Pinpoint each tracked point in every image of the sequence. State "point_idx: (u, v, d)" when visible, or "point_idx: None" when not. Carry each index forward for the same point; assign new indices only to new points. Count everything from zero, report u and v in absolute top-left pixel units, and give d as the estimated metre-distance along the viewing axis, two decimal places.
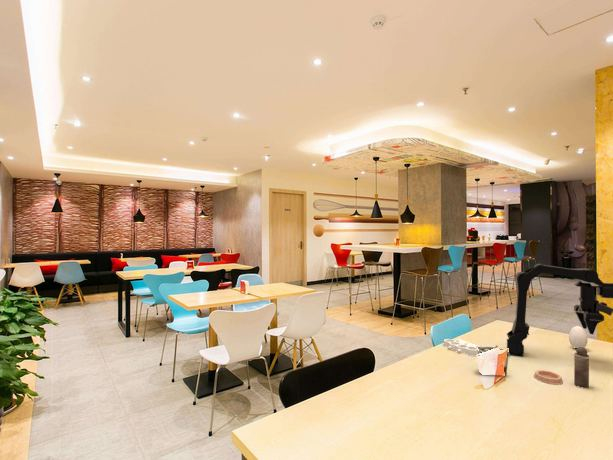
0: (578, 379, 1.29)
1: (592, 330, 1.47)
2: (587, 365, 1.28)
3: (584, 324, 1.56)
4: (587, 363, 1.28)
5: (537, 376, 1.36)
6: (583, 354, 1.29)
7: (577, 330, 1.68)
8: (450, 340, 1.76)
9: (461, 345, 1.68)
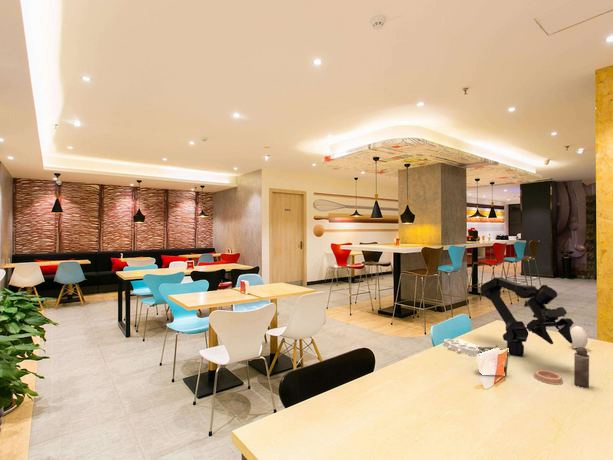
0: (578, 379, 1.29)
1: (548, 339, 1.39)
2: (587, 365, 1.28)
3: (568, 338, 1.41)
4: (587, 363, 1.28)
5: (537, 376, 1.36)
6: (583, 354, 1.29)
7: (577, 330, 1.68)
8: (450, 340, 1.76)
9: (461, 345, 1.68)
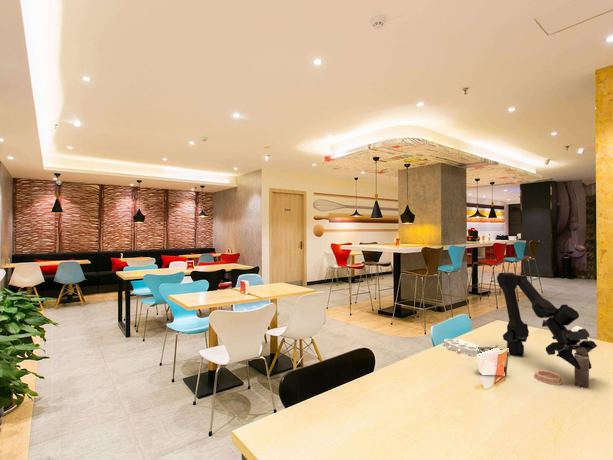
0: (578, 379, 1.29)
1: (575, 364, 1.30)
2: (587, 365, 1.28)
3: None
4: (587, 363, 1.28)
5: (537, 376, 1.36)
6: (583, 354, 1.29)
7: (577, 330, 1.68)
8: (450, 340, 1.76)
9: (461, 345, 1.68)
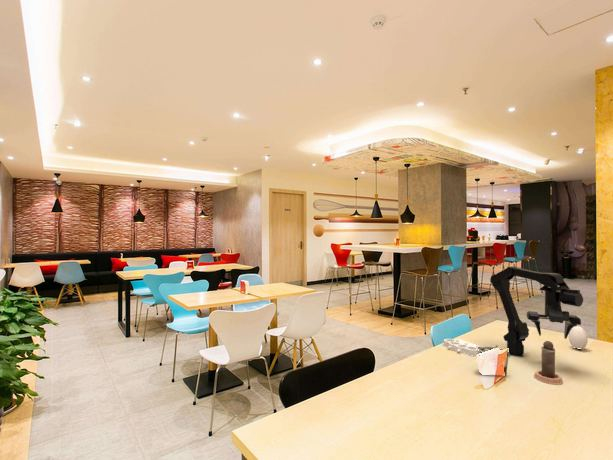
0: (543, 371, 1.35)
1: (538, 331, 1.50)
2: (551, 358, 1.34)
3: (564, 334, 1.46)
4: (551, 356, 1.34)
5: (537, 376, 1.36)
6: (548, 348, 1.35)
7: (577, 330, 1.68)
8: (450, 340, 1.76)
9: (461, 345, 1.68)
